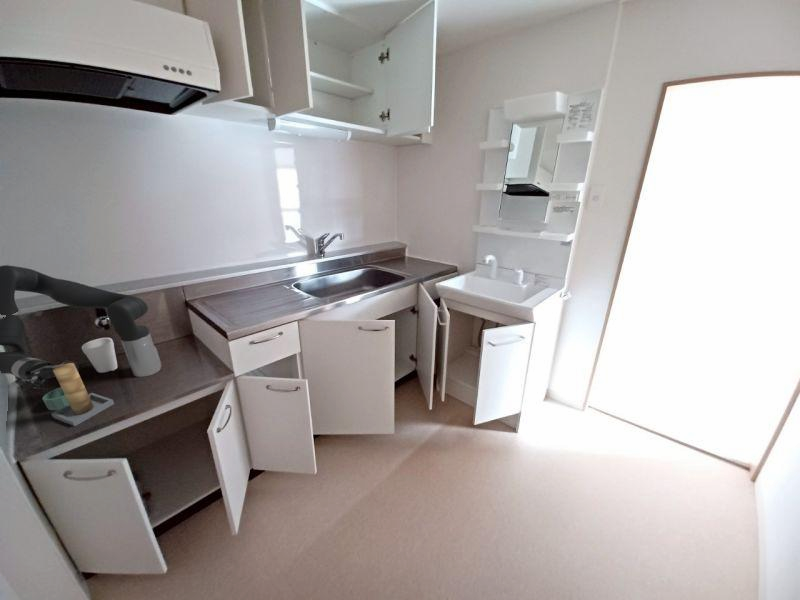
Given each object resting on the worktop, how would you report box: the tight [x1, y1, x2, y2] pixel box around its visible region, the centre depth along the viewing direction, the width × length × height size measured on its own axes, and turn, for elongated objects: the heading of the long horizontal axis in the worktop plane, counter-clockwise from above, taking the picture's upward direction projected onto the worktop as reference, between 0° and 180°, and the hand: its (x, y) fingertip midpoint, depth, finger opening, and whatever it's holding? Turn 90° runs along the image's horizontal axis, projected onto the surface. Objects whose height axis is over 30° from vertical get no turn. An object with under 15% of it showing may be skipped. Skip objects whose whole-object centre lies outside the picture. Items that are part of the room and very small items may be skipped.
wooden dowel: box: [53, 363, 94, 415], centre depth 106 cm, size 5×5×18 cm
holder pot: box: [41, 387, 69, 411], centre depth 112 cm, size 8×8×5 cm
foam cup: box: [81, 337, 118, 374], centre depth 131 cm, size 10×9×13 cm
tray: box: [50, 392, 115, 427], centre depth 109 cm, size 12×12×2 cm
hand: (60, 378), depth 106 cm, fingers open, 8 cm apart
